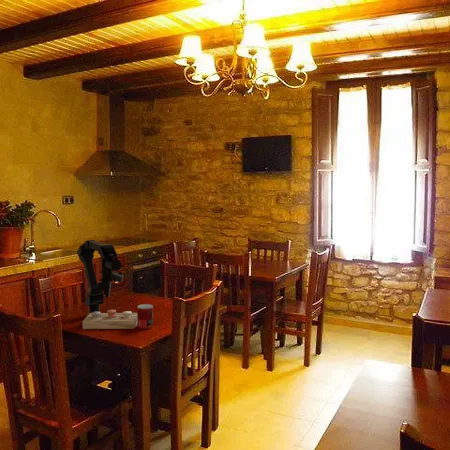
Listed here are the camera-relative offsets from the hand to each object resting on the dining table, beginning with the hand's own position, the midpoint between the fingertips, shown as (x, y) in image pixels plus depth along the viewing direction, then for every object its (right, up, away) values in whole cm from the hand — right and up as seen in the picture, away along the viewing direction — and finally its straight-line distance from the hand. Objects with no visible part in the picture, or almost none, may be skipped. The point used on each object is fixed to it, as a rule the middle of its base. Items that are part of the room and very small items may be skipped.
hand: (107, 297), depth 238 cm
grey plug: (-5, -13, -4) cm, 14 cm away
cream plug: (+11, -13, -3) cm, 17 cm away
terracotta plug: (+3, -12, -4) cm, 13 cm away
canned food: (+21, -14, -8) cm, 27 cm away
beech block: (+3, -13, -4) cm, 14 cm away
